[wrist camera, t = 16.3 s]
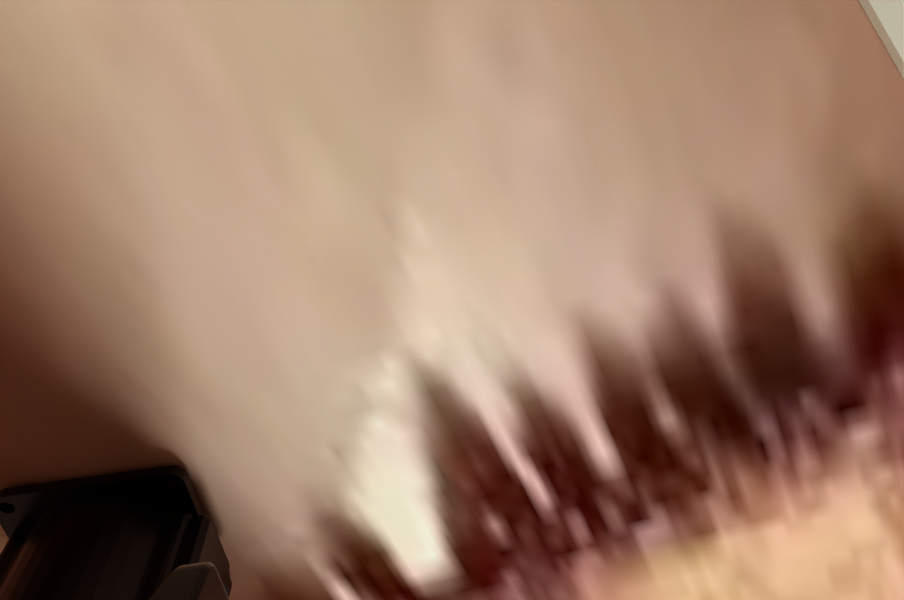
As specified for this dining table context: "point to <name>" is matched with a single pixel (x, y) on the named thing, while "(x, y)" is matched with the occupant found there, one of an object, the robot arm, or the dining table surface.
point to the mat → (888, 26)
